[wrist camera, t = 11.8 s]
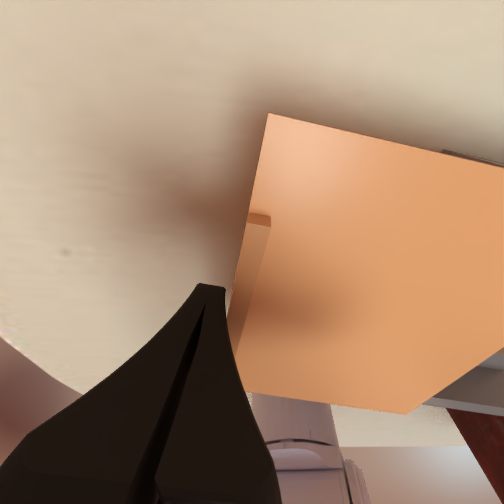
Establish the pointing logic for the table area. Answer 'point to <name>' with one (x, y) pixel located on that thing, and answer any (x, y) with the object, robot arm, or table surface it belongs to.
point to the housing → (475, 371)
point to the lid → (365, 269)
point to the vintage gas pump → (484, 443)
